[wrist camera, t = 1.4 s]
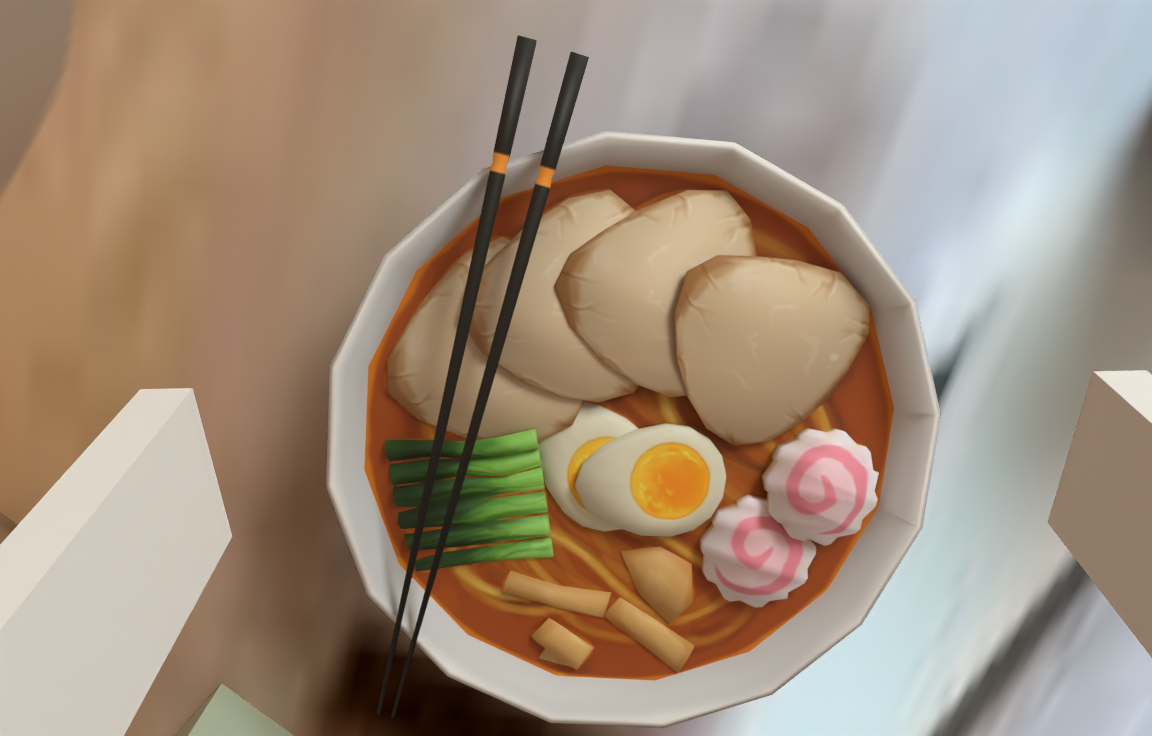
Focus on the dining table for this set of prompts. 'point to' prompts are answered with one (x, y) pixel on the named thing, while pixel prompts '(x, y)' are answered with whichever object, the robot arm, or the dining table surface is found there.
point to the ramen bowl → (629, 426)
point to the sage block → (230, 718)
